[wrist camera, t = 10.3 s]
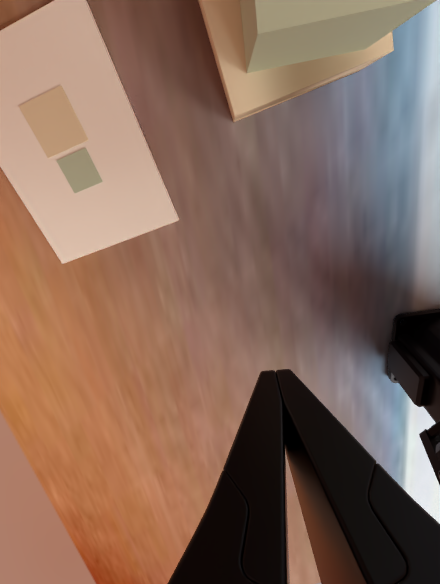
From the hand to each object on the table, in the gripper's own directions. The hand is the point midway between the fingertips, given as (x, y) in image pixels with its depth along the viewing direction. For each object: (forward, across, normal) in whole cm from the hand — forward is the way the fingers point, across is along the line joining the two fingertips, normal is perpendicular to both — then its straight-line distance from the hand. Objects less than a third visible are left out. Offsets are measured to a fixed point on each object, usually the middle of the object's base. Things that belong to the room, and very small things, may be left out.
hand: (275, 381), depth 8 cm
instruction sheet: (+13, +10, -7) cm, 18 cm away
